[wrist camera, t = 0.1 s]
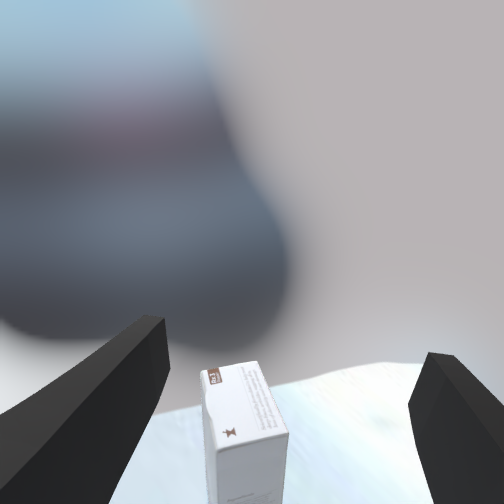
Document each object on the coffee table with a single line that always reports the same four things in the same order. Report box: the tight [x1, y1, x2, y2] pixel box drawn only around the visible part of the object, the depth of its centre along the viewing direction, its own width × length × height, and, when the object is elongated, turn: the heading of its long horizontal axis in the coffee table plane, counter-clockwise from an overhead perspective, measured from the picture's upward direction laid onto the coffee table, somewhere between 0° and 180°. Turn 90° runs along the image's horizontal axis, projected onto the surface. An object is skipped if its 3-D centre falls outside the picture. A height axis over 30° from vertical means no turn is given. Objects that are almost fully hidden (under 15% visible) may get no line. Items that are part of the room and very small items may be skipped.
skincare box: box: [200, 361, 289, 504], centre depth 22 cm, size 6×4×12 cm
